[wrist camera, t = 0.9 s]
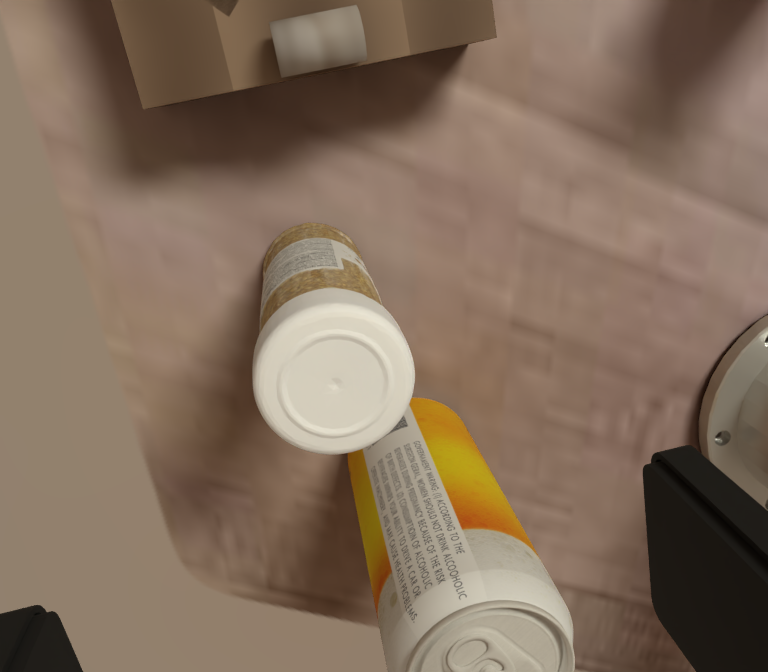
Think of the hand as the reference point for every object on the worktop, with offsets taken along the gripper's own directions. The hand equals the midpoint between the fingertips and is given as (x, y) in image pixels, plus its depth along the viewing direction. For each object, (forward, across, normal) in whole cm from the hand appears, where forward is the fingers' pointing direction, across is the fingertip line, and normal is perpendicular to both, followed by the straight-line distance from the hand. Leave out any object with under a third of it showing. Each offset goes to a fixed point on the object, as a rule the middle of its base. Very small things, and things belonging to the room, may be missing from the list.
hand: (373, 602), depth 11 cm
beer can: (+23, -3, +10) cm, 25 cm away
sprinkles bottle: (+23, 0, 0) cm, 23 cm away
